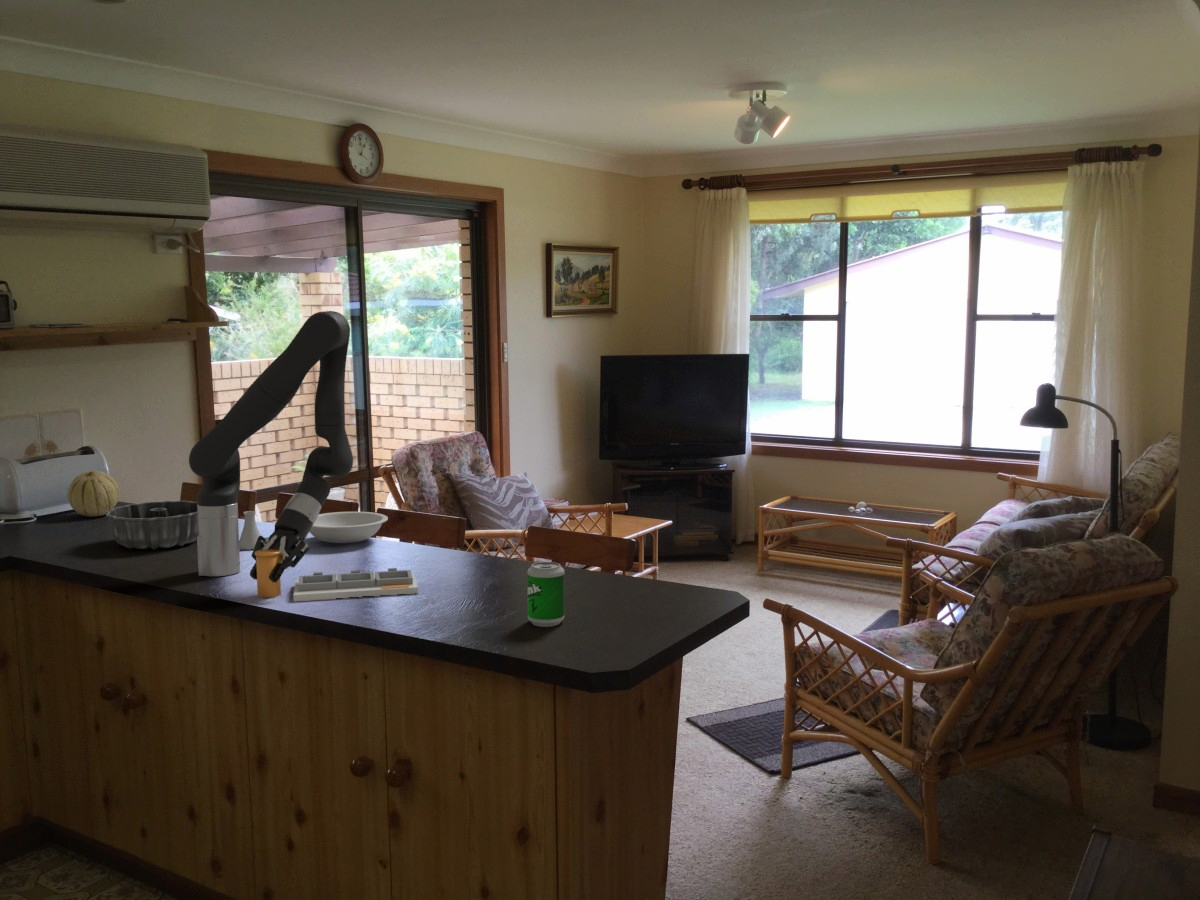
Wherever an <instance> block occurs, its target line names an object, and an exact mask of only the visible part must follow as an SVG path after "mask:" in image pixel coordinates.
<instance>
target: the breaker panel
mask: <svg viewBox="0 0 1200 900" xmlns="http://www.w3.org/2000/svg"><path fill="white" fill-rule="evenodd" d="M298 577H299V578H298V579H295V583H294V589H293V602H304V601H305V602H306V601H307V602H309V601H322V600H323V601H324V600H337V599H336V598H343V599H349V598H348V597H359V598H363V597H362V596H375V597H381V596H380V595H391V596H398V595H397V594H407V595H416V594H415V593H418V594H419V586H418V582H417V580H416V577H415V573H414V572H412V570H411V569H402V570H400V569H399V570H398V569H397V567H392V568H387V570H383V571H375V572H374V571H368V572H367V571H366V572H361V569H355V570H350V573H348V572H346V573H337V574H336V573H332V574H331V573H329V574H323V572H322V571H319V572H317V571H316V572H313V574H311V575H300V576H298Z"/></svg>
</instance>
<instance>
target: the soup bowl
mask: <svg viewBox="0 0 1200 900" xmlns="http://www.w3.org/2000/svg"><path fill="white" fill-rule="evenodd" d="M388 519H389V518H388V516H387V515H385V514H384V513H383V514H382V513H377V512H371V511H336V512H325V513H319V515H318V517H317V519H316V521H315V522H314V524H313V526H312V528H311V529H310V531H309V533H310V534H311V535H312V536H313V537H314V538H316V539H317V540H319V541H321V542H325V543H328V544H329V543H330V544H352V543H358V542H361V541H365V540H368V539H370V538H371V537H373V536H374V535H375V534H376V533H378V531H379V530H380V528H381V527H382V525H383V524H384V523H386V522H387V521H388Z"/></svg>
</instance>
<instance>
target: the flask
mask: <svg viewBox="0 0 1200 900" xmlns="http://www.w3.org/2000/svg"><path fill="white" fill-rule="evenodd" d="M256 514H257V512H256V511H254V510H247V511H243V515H244V523H243V528H242V531H241V535H240V536H239V551H240V550H242V551H243V550H246V551H249V550H251V549H253V550H254V547H255V544H256V542H257V539H258V537H259V536H261V534H260V531H259V528H258V526H257V523H256ZM251 551H252V550H251Z"/></svg>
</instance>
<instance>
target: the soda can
mask: <svg viewBox="0 0 1200 900" xmlns="http://www.w3.org/2000/svg"><path fill="white" fill-rule="evenodd" d="M526 575H527V619H528V621H529V622H531V624H532V625H533V626H537V627H541V628H542V627H543V628H544V627H545V628H548V627H555V626H558V625H560V624H561V622H562V621H563V620H564V619H565V617H566V615H565V607H566V606H565V603H566V602H565V568H563V566H562V565H561V564H560V563H558V562H553V561H540V562H534V563H532V564H531V566H530V567H529V568H528V569H527V574H526Z"/></svg>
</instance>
